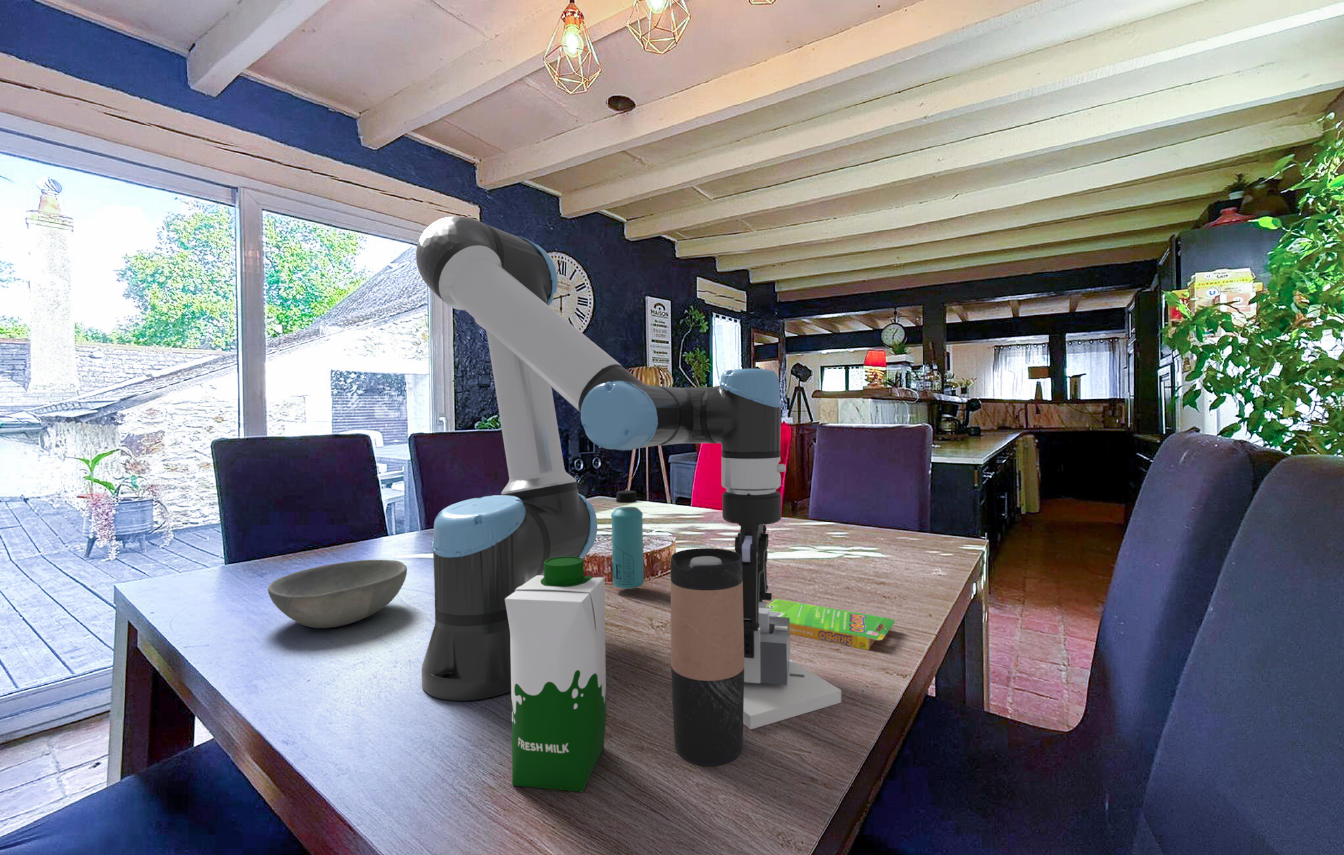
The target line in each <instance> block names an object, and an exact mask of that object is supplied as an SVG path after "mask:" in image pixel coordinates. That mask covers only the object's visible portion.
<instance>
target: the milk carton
mask: <svg viewBox="0 0 1344 855" xmlns="http://www.w3.org/2000/svg"><path fill="white" fill-rule="evenodd" d="M584 562H585V561H584V558H583V559H582V558H580V557H573V556H563V557H555V558H550V559H548V560H546V561H545V562H544V576H542V575H537V576H535V577H534V578H532V579H531V580H529V581H528V582H526V583H525V584H523V585H522V586H519V587H518V588H516V589H515V592H514V593H512V594H511V595H509V596H508V597H507V598H505V604H506V609H507V615H508V621H509V628H510V649H511V691H510V693H511V694H510V695H511V753H512V755H511V756H512V758H511V760H512V761H511V765H512V766H511V768H512V769H511V771H512V772H511V775H512V777H511V778H512V780H511V781H512V782H511V783H512V784H511V785H512V786H515V787H523V788H524V787H527V788H536V789H545V790H547V789H548V790H558V791H568V792H581V793H583V792H584V790H585V788H586V786H587V785H588V782H589V780H590V778H591V776H592V774H593V772H594V769H595V767H596V765H597V763H598V761H599V760H600V759H599V758H600V756H602V752H603V750H604V749H605V736H606V734H605V733H606V721H607V720H606V717H607V682H606V681H607V680H606V677H607V673H606V670H607V668H606V667H607V665H606V658H607V657H606V617H605V615H606V614H605V612H606V602H605V601H606V600H605V599H606V598H605V583H606V582H605V580H606V579H605V577H604V576H603V577H593V575H585V566H584V565H585V564H584Z"/></svg>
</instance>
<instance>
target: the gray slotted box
mask: <svg viewBox="0 0 1344 855" xmlns="http://www.w3.org/2000/svg"><path fill="white" fill-rule="evenodd" d="M790 657H791V634H790V618H787V617H773V616H769V633H760V669H761V682H760V683H770V684H780V685H787V679H788V670H789V660H790V659H791V658H790Z"/></svg>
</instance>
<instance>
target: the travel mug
mask: <svg viewBox="0 0 1344 855" xmlns="http://www.w3.org/2000/svg"><path fill="white" fill-rule="evenodd" d="M670 666H671V667H670V670H671V671H670V672H671V673H670V674H671V675H670V676H671V697H672V713H673V714H672V716H673V717H672V720H673V737H674V738H673V739H674V747H675V751H676V753H677V754H678V755H679V756H680V757H681V758H682V759H683V760H685V761H687V762H689V763H692V764H695V765H698V766H705V767H708V766H709V767H714V766H715V767H716V766H722V765H726V764H728V763H731V762H733V761H734V760H736V759H737V758H738V757H739V756H740V755H741V753H742V750H743V739H744V724H743V706H744V623H743V574H742V557H741V555H740V554H738V553H736V551H735V550H734V551H733V550H728V549H723V548H712V547H711V548H710V547H709V548H708V547H707V548H706V547H705V548H704V547H702V548H690V549H684V550H683V549H682V550H680V551H677V552H674V553H673V554H672V555H671V556H670Z"/></svg>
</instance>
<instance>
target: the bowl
mask: <svg viewBox="0 0 1344 855" xmlns="http://www.w3.org/2000/svg"><path fill="white" fill-rule="evenodd" d="M407 574H408V568H407V565H405V563H404V562H402V561H399V560H395V559H393V560H392V559H363V560H362V559H361V560H352V561H344V562H337V563H336V562H335V563H332V564H326V565H320V566H316V567H312V568H307V569H304V570H299V571H297V572H293V573H290V574H287V575H284V576H282V577H279V578H277V579H274V581H272V582H271V583H270V584H269V585H268V587H267V593H268V595H269V598H270V600H271V602H272V603H273V604H274V605H275V607H276V608H277V609H278V610H279V611H280V612H281V613H283V614H284V615H285V616H287V617H288V618H289V619H291V620H292V621H293V622H296V623H297V624H300V625H302V626H305V627H309V628H315V629H331V627H332V628H337V627H338V626H339V627H342V626H346V625H349V624H352V623H355V622H359V621H361V620H364V619H366V618H368V617H370V616H372V615H374V614H375V613H377V612H378V611H380V610H382V609H384V608H385V607H386V606H387V605H389V604H390V603H391V602H392V601H393V600H394V599H395V598H396V596H397V595H398V594H399V592H400V591H401V589H402V587H403V585H404V583H405V580H406V578H407ZM339 627H338V628H339Z"/></svg>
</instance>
